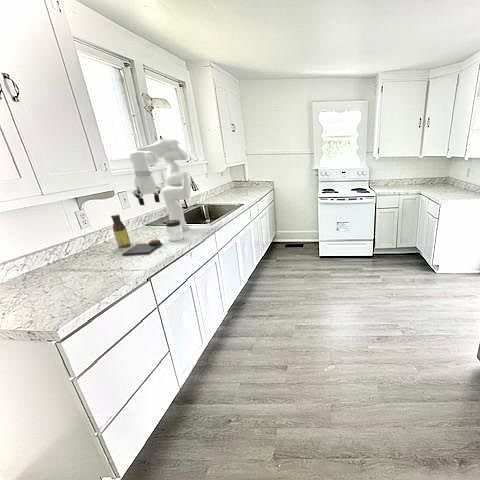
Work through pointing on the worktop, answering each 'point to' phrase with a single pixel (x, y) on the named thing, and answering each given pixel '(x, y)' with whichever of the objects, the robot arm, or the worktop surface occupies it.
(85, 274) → the worktop surface
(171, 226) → the jar
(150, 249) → the scale
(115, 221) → the sauce bottle
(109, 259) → the worktop surface
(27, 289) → the worktop surface
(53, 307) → the worktop surface
